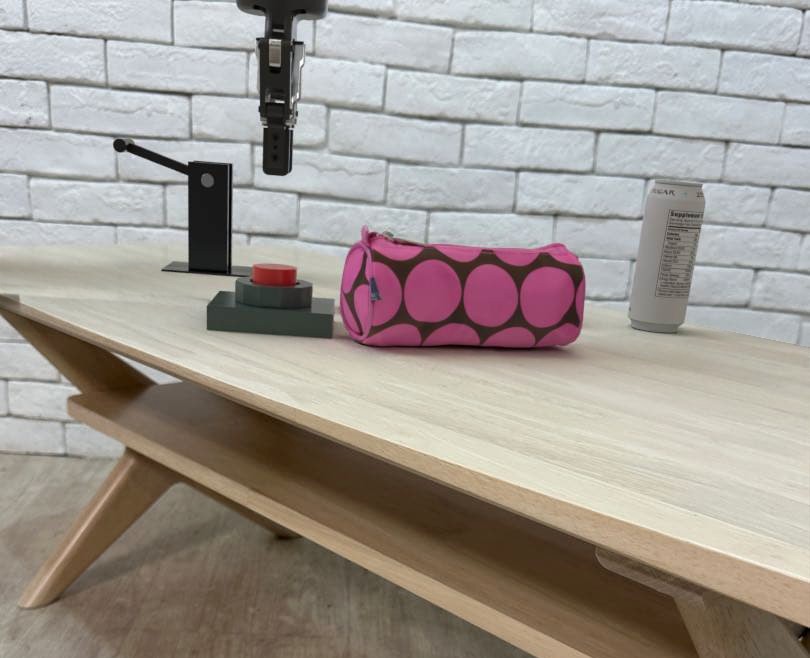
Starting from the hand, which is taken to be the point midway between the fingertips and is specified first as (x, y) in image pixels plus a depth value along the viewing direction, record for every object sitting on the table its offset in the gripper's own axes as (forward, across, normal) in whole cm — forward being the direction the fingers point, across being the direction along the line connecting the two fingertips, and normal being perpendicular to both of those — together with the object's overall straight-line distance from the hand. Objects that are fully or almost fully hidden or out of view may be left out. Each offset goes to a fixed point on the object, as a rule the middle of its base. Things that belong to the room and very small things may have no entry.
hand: (277, 173), depth 87 cm
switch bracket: (+13, -28, -9) cm, 32 cm away
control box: (+13, 0, 0) cm, 13 cm away
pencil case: (+13, +4, +17) cm, 22 cm away
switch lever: (+2, -28, -14) cm, 31 cm away
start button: (+10, 0, 0) cm, 10 cm away
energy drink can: (+13, -14, +40) cm, 45 cm away
